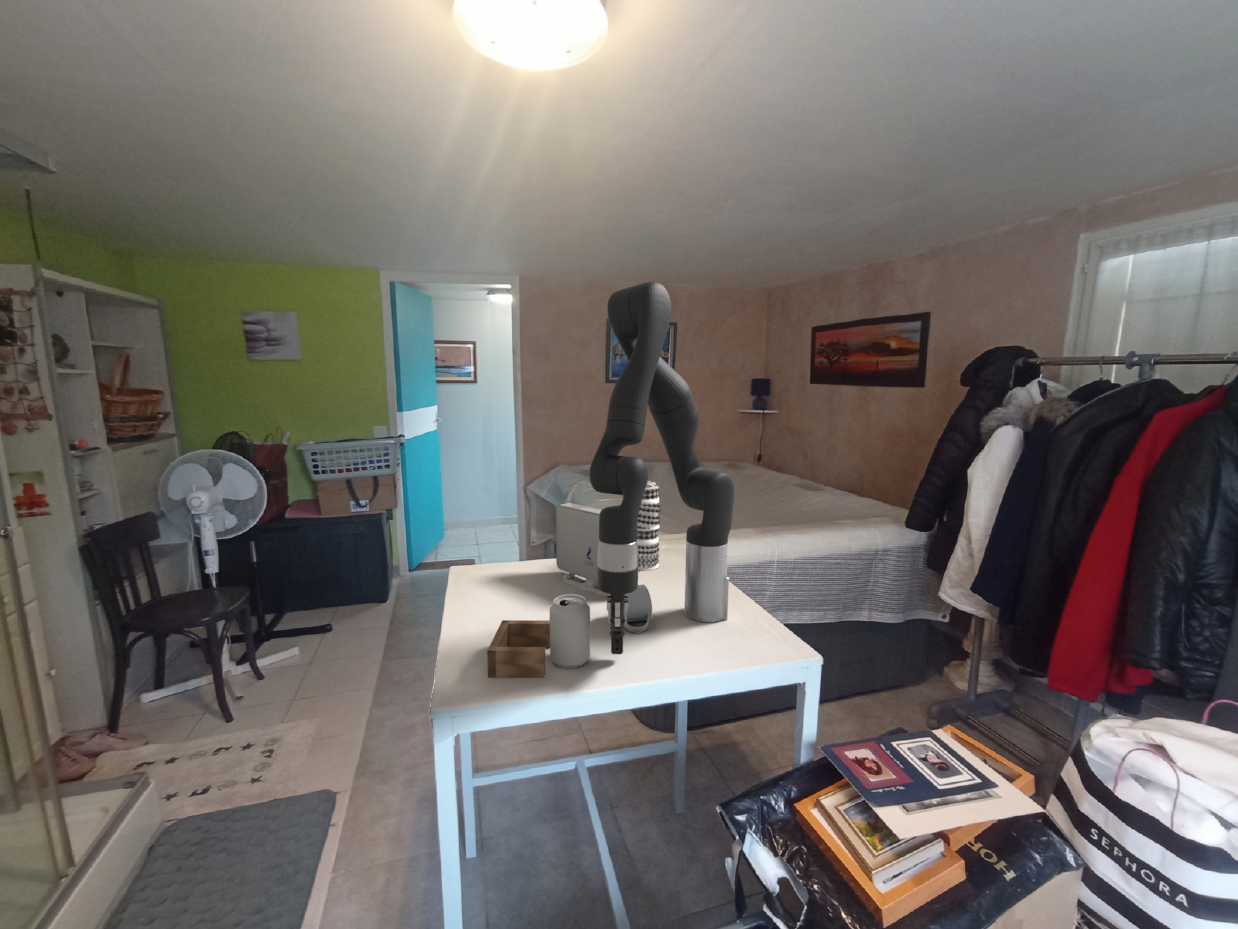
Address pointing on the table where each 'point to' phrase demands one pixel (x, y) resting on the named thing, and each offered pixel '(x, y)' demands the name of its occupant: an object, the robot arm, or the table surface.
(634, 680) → the table surface
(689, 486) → the robot arm
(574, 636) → the can
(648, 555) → the decorative candle
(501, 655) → the dock
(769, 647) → the table surface
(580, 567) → the network device
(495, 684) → the table surface
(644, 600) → the ceramic mug
